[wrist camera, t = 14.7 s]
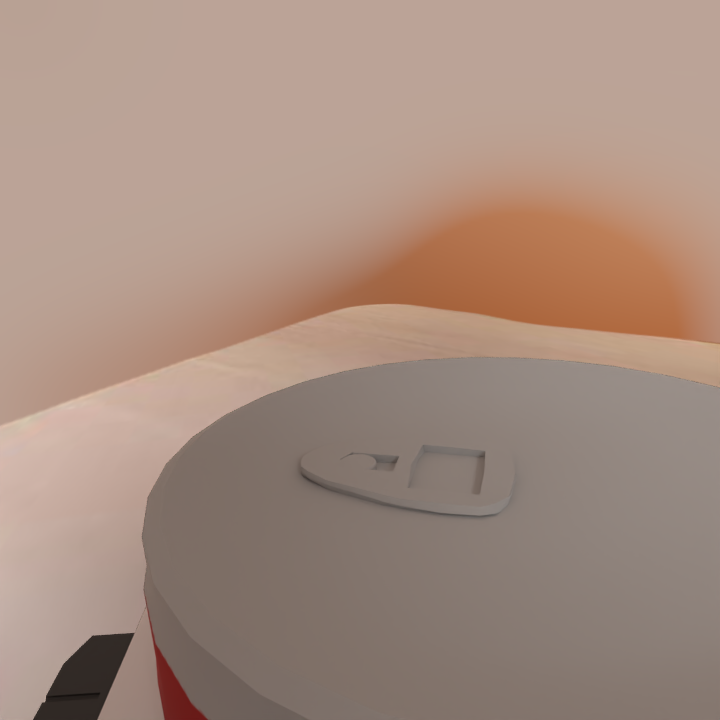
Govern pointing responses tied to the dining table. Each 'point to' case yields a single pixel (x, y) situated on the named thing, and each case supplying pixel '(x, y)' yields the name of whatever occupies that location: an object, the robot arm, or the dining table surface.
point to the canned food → (444, 548)
